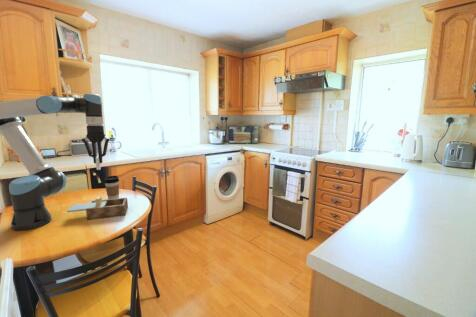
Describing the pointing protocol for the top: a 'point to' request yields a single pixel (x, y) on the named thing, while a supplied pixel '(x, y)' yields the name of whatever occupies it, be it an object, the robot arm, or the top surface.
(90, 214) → the box
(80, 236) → the top surface
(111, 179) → the coffee cup
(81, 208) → the lid
